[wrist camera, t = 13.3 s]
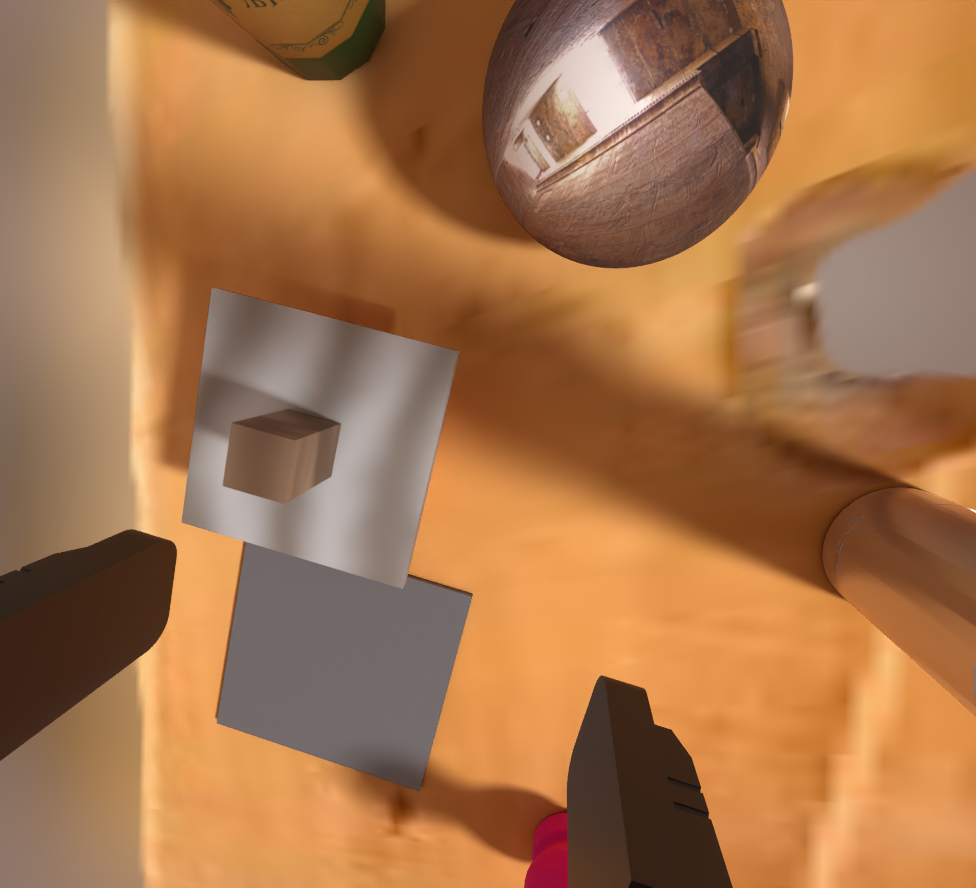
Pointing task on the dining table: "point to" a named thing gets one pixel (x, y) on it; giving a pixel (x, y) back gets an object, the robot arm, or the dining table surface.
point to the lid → (315, 435)
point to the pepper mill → (549, 854)
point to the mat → (341, 663)
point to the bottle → (313, 32)
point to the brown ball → (633, 120)
